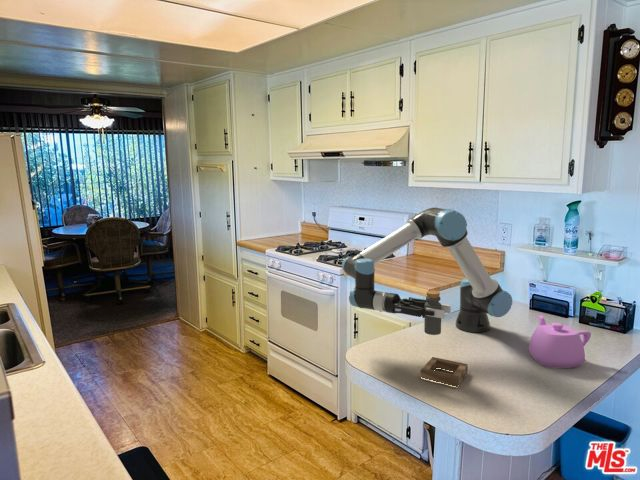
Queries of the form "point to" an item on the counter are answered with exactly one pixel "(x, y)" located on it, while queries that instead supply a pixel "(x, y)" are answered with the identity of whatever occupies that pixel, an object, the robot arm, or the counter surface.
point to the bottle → (430, 323)
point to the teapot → (558, 345)
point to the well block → (445, 378)
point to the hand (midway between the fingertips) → (447, 311)
